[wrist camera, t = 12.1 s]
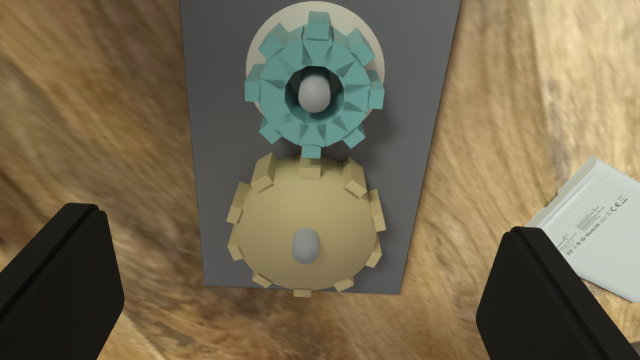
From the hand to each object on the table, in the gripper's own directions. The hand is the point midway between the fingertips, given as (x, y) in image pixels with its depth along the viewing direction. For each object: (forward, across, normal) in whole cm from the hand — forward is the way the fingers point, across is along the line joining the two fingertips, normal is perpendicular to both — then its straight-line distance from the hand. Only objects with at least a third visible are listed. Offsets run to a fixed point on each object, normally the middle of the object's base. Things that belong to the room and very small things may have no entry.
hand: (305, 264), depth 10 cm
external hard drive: (+19, -23, +11) cm, 32 cm away
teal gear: (+16, 0, 0) cm, 17 cm away
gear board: (+18, 0, +5) cm, 19 cm away
